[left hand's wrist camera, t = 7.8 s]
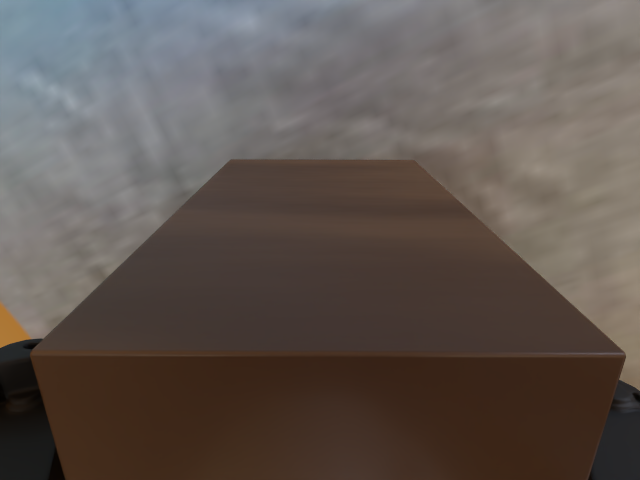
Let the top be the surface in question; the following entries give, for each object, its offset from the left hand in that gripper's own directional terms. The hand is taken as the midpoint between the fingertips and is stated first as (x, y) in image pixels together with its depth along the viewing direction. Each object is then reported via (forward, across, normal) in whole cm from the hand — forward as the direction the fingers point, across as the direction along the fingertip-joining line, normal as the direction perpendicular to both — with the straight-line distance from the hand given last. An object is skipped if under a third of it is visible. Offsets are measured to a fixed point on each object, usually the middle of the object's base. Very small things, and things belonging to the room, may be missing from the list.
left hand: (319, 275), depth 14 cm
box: (+2, 0, -10) cm, 10 cm away
